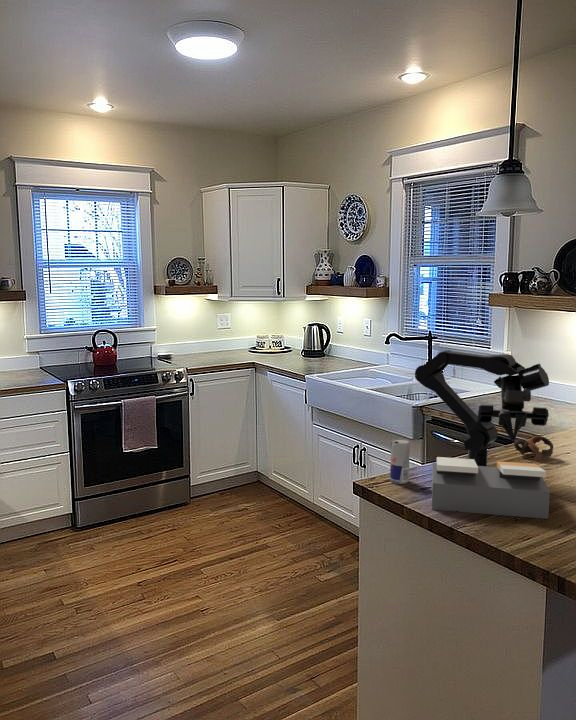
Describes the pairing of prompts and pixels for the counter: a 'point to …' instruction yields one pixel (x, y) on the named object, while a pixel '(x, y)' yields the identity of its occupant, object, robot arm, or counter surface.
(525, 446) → the brown chain link decor
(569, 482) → the counter surface
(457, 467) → the rocker plain
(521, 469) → the orange and white panel
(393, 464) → the energy drink
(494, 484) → the switch strip
